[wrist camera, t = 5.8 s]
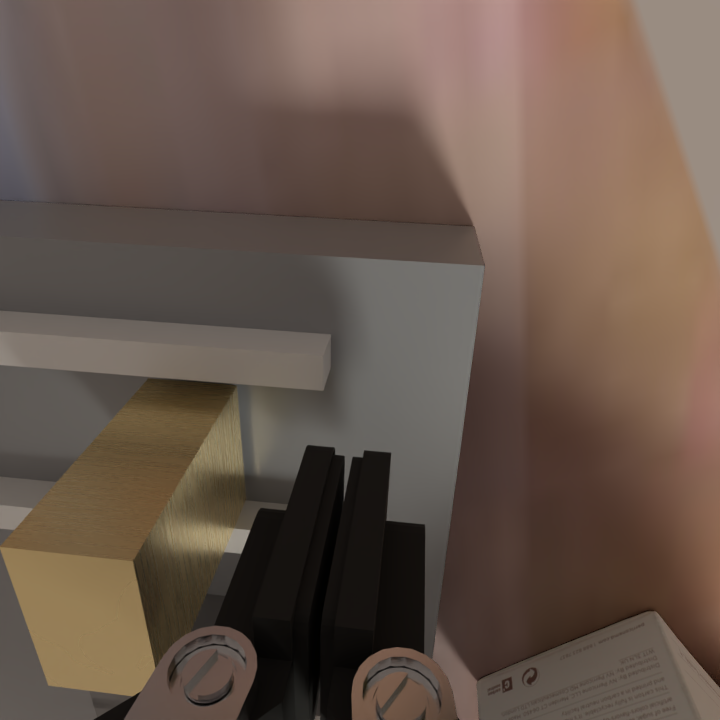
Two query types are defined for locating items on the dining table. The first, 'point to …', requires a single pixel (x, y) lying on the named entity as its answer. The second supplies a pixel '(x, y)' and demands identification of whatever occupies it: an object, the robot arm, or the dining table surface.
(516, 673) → the supplement box
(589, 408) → the dining table surface
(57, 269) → the panel
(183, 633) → the golden rectangular block
